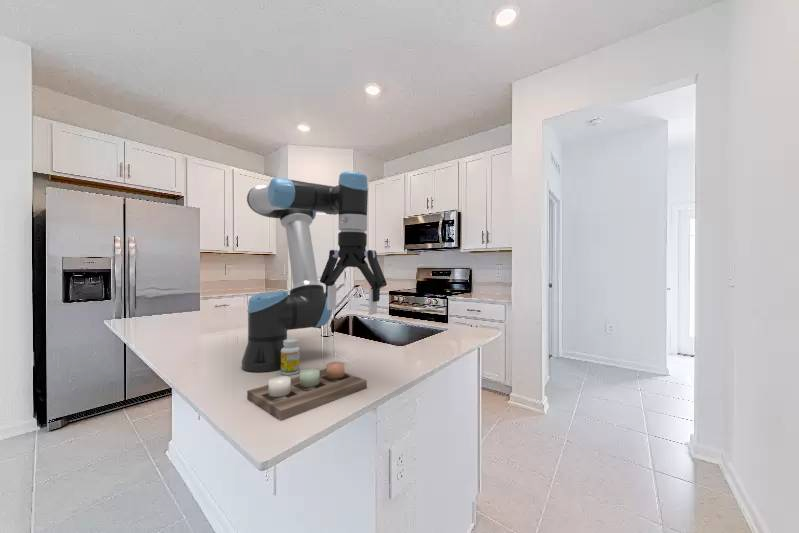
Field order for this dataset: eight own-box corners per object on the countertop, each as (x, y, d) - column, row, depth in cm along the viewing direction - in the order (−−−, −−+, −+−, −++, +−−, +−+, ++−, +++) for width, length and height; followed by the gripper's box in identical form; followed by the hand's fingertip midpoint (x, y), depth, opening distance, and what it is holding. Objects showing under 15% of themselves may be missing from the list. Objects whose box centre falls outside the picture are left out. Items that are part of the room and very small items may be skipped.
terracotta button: (322, 375, 87) (322, 364, 87) (337, 371, 91) (337, 360, 91) (333, 379, 84) (333, 368, 84) (348, 375, 87) (348, 364, 87)
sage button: (295, 383, 81) (295, 371, 81) (312, 378, 85) (312, 367, 85) (306, 388, 78) (306, 375, 78) (323, 383, 82) (323, 371, 81)
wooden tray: (247, 399, 78) (247, 390, 78) (329, 374, 96) (329, 367, 96) (280, 420, 67) (280, 410, 67) (366, 387, 85) (366, 380, 85)
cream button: (264, 392, 75) (264, 379, 75) (284, 387, 79) (284, 374, 79) (274, 398, 72) (274, 385, 72) (294, 392, 76) (294, 379, 76)
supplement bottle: (300, 374, 96) (300, 341, 96) (281, 376, 93) (281, 343, 93) (298, 368, 101) (298, 337, 100) (280, 370, 98) (280, 339, 98)
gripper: (307, 231, 89) (306, 309, 89) (385, 229, 77) (383, 318, 77) (326, 233, 95) (325, 305, 96) (400, 232, 83) (399, 314, 84)
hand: (351, 311), depth 87 cm, fingers open, 13 cm apart
